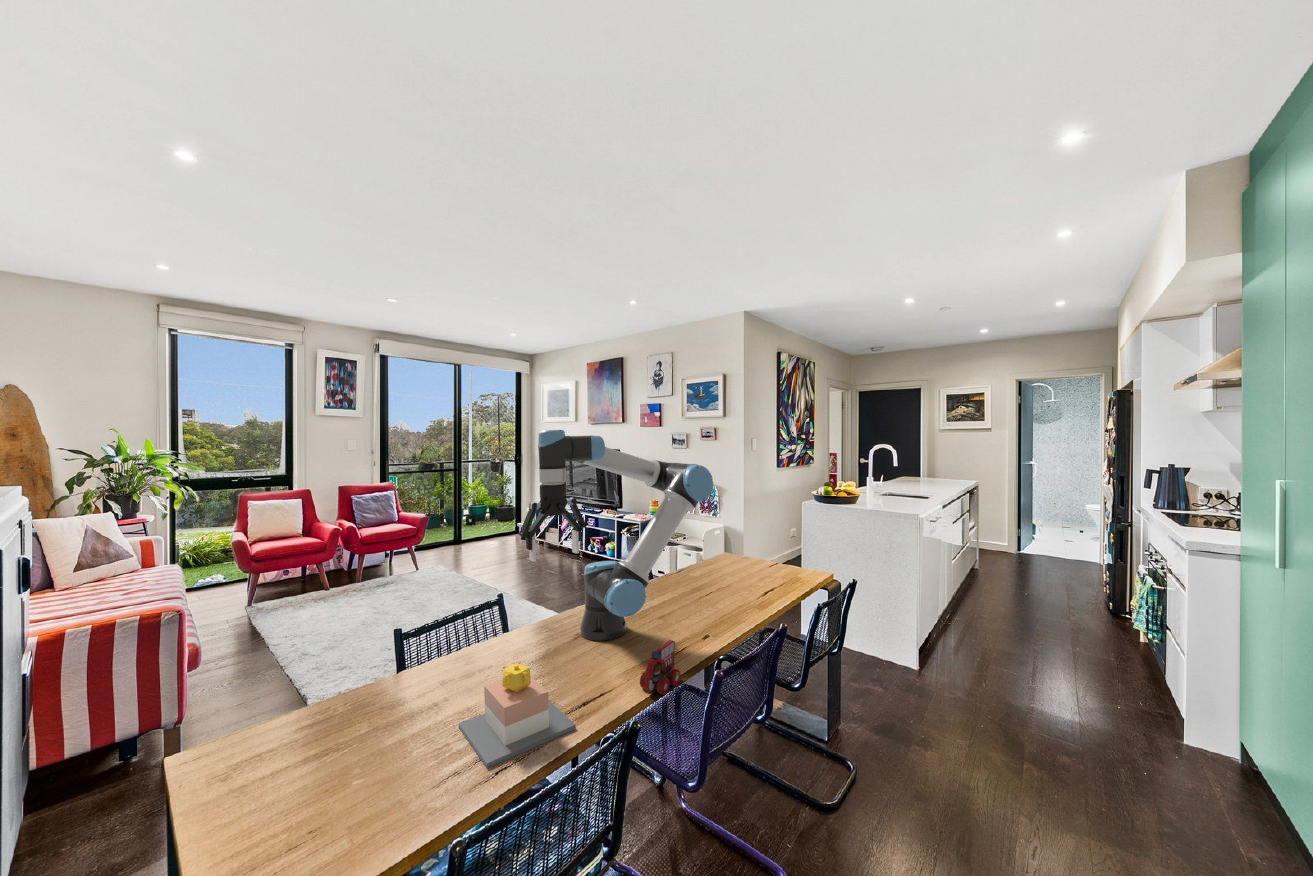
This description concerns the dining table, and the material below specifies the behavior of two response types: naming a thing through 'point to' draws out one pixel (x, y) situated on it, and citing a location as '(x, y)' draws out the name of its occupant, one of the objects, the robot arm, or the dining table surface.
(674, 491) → the robot arm
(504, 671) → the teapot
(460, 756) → the dining table surface
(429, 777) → the dining table surface
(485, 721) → the tower base
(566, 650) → the dining table surface
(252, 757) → the dining table surface
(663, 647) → the toy fire truck
